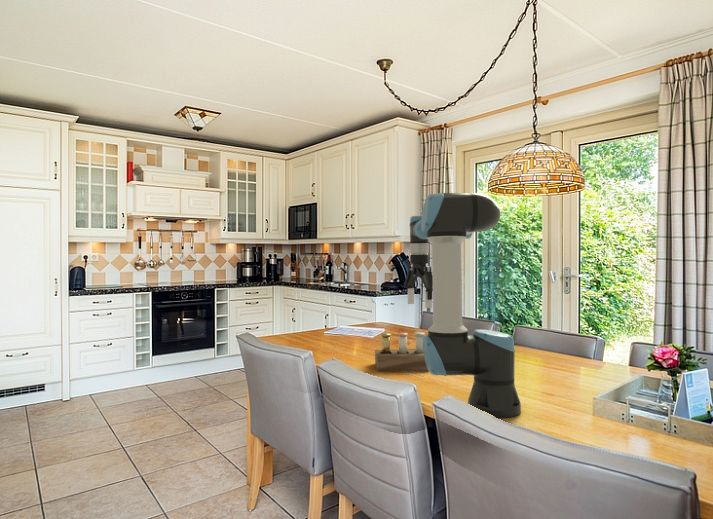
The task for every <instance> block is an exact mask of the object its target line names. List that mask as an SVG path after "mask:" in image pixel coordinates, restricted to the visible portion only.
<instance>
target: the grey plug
mask: <svg viewBox="0 0 713 519" xmlns="http://www.w3.org/2000/svg"><path fill="white" fill-rule="evenodd" d="M414 336H415V349H416V353H423V337H424V336H426V332H419V331H417V332H414Z"/></svg>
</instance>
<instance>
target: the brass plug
mask: <svg viewBox="0 0 713 519" xmlns="http://www.w3.org/2000/svg"><path fill="white" fill-rule="evenodd" d="M391 336H392V333H390V332H382V333H380V337H381V350H382V354H390V350H391Z"/></svg>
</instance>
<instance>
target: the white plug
mask: <svg viewBox="0 0 713 519" xmlns="http://www.w3.org/2000/svg"><path fill="white" fill-rule="evenodd" d="M397 336H398V349H399V354H407V349H408V336H409V333H408V332H397Z"/></svg>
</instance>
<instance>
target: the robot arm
mask: <svg viewBox="0 0 713 519" xmlns="http://www.w3.org/2000/svg"><path fill="white" fill-rule="evenodd" d="M500 218H501V209H500V207H499V205H498V203H497V202H496V201H495V200H494V199H493V198H492V197H491V196H488V195H486V194H483V193H479V192H471V193H467V192H440V193H438V192H436V193H430V194H428V195H427V197H426V198H425V200H424V202H423V207H422V212H421V215H412V216H411V217H410V220H409V234H410V235H409V253H410V255H409V263H410V265H409V264H408V266H407V273H406V277H405V281H404V287H406V288H407V304H408V305H414V304H415V287H414V286H415V284H416V281H417V279H418V278H420V279H421V281H422V284H423V286H424V289H425V290H424V307H425V309H432V325H431V326H429V328H427V334H425V336H424V337H423V353H424V358H425V362H426V366H427V368H428V370H427V371H428V372H429V373H430V374H431V375H433V376H444V377H447V376H473V383H472V386H471V389H470V393H469V396H468V400H467V405H468V404H470V405H472V406H474V407H476V408H478V409H480V410H482V411H485V412H487V413H489V414H491V415H493V416H495V417H494V418H499V419H501V418H513V417H516V416H518V415H520V414H521V413H522V409H521V408H522V405H521V400H520V397H519V394H518V392H517V388H516V385H515V352H516V349H515V341H514V337H512V336H511V335H510V334H508V333H504V332H501V331H497V330H490V329H480V328H479V329H474V330H473V333H472V334H471V335H470V334H468V332H469V330H468V328H467V327H465V325H464V323H463V290H462V289H463V287H462V286H463V280H462V279H463V278H462V274H463V273H462V270H463V269H462V243H463V242H464V241H465V240H467V239H470V238H472V235H473V233H476V232H477V233H478V232H487V231H490V230H491V229H494V228H495V227H496V226H497V225H498V223H499V221H500ZM429 242H430V244H431V253H432V254H431V257H432V258H431V260H432V263H431V264H432V265H431V266H430V265H428V266H427V264H429V260H430V258H429V247H430V246H429Z"/></svg>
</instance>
